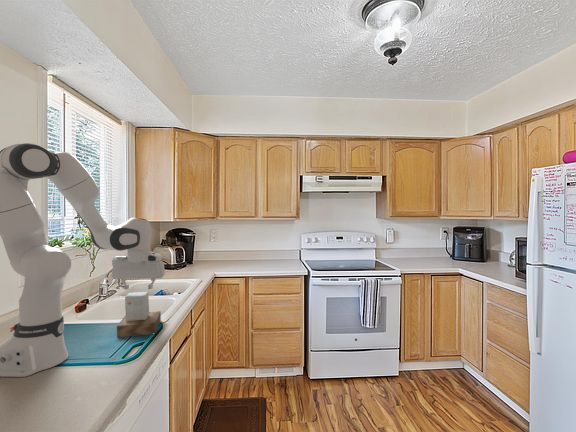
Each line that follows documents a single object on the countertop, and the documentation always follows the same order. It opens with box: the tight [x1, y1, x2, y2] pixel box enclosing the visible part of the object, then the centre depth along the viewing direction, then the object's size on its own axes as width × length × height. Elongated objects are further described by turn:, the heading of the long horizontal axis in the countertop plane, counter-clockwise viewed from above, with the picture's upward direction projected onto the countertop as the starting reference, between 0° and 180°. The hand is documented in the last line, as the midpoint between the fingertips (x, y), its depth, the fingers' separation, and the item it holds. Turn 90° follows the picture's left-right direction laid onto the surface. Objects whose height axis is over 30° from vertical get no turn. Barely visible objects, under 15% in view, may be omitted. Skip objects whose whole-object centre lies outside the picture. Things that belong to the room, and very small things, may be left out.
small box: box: [124, 291, 150, 321], centre depth 130 cm, size 8×6×10 cm
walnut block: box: [116, 310, 162, 338], centre depth 131 cm, size 14×14×5 cm
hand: (138, 288), depth 130 cm, fingers open, 8 cm apart
